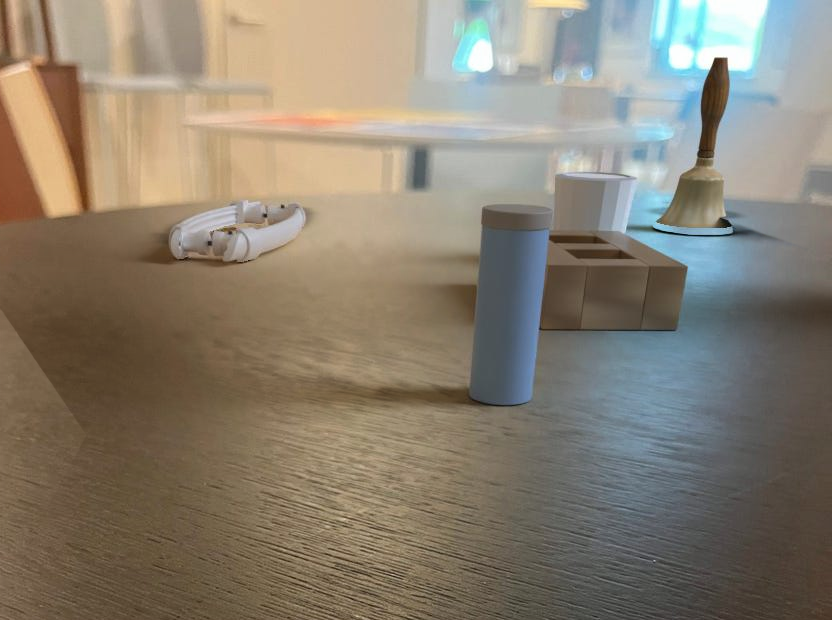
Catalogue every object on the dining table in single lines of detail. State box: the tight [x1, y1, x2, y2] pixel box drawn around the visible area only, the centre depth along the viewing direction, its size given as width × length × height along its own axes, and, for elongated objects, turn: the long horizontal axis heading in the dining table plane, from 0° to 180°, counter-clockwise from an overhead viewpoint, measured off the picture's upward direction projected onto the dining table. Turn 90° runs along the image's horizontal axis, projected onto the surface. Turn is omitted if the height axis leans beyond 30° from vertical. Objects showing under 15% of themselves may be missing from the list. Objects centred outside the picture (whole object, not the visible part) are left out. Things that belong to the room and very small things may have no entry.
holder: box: [539, 229, 689, 331], centre depth 72 cm, size 9×16×4 cm, turn 3°
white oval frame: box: [168, 199, 307, 263], centre depth 94 cm, size 3×10×25 cm
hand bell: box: [655, 56, 733, 228], centre depth 104 cm, size 8×8×16 cm
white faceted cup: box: [553, 171, 638, 235], centre depth 87 cm, size 7×7×7 cm
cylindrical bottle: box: [468, 203, 554, 406], centre depth 50 cm, size 3×3×9 cm
